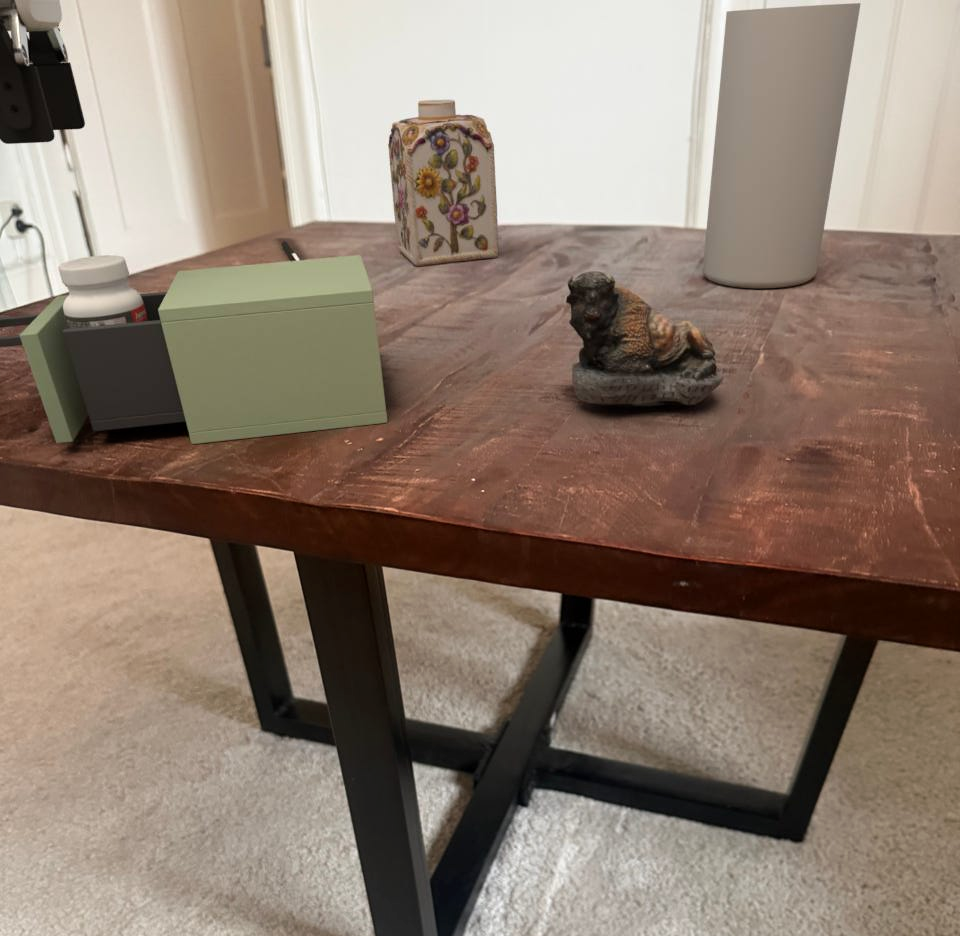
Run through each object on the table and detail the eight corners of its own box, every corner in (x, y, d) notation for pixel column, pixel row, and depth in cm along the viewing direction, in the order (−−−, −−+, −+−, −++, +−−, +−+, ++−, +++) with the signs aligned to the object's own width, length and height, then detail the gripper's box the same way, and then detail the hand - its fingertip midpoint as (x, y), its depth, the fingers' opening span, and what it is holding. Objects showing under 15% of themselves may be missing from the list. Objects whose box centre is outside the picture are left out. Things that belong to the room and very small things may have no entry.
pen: (297, 270, 114) (295, 261, 113) (280, 245, 129) (279, 237, 129) (304, 270, 114) (302, 260, 114) (286, 245, 129) (285, 237, 129)
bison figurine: (703, 385, 70) (716, 252, 65) (734, 415, 65) (752, 272, 59) (557, 398, 70) (558, 264, 64) (576, 430, 64) (578, 286, 58)
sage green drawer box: (191, 444, 65) (157, 309, 60) (205, 390, 76) (177, 270, 70) (387, 422, 67) (372, 289, 61) (374, 372, 77) (361, 254, 72)
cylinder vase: (736, 261, 107) (765, 10, 93) (835, 272, 99) (882, 2, 85) (681, 281, 100) (702, 12, 85) (782, 295, 92) (824, 4, 78)
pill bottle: (172, 398, 68) (137, 262, 62) (96, 413, 66) (53, 274, 60) (159, 379, 72) (125, 250, 66) (87, 392, 70) (46, 261, 64)
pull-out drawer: (-25, 452, 63) (-70, 343, 59) (16, 400, 73) (-19, 302, 68) (243, 423, 66) (220, 315, 61) (249, 376, 75) (230, 280, 71)
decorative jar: (396, 251, 122) (382, 101, 112) (476, 242, 124) (469, 94, 114) (414, 268, 113) (399, 105, 102) (500, 258, 115) (494, 98, 105)
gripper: (-66, -182, 56) (21, 127, 65) (-188, -256, 42) (-54, 151, 51) (56, -182, 57) (124, 123, 66) (-23, -254, 43) (78, 145, 52)
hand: (46, 135), depth 59 cm, fingers open, 9 cm apart
